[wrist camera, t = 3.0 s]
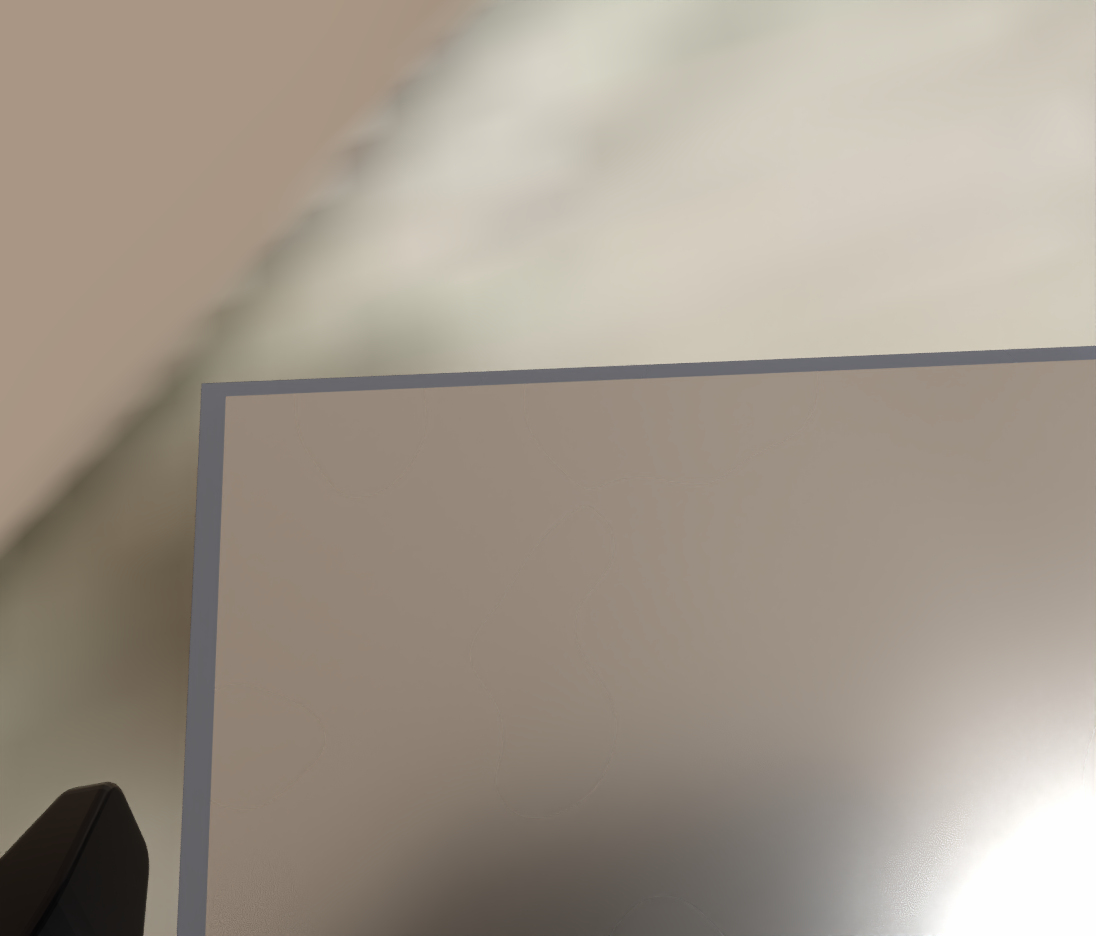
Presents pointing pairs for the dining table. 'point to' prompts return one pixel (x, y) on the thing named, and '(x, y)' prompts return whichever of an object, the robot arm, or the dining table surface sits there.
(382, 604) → the block
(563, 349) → the dining table surface
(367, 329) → the dining table surface
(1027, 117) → the dining table surface
